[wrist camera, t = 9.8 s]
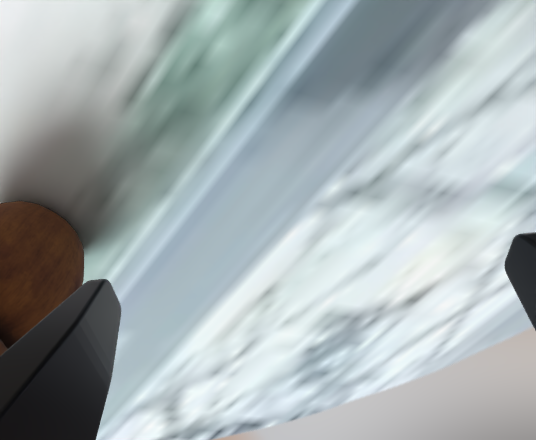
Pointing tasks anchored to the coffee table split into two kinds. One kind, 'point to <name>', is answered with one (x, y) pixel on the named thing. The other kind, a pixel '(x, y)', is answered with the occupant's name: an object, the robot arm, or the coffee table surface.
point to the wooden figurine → (34, 267)
